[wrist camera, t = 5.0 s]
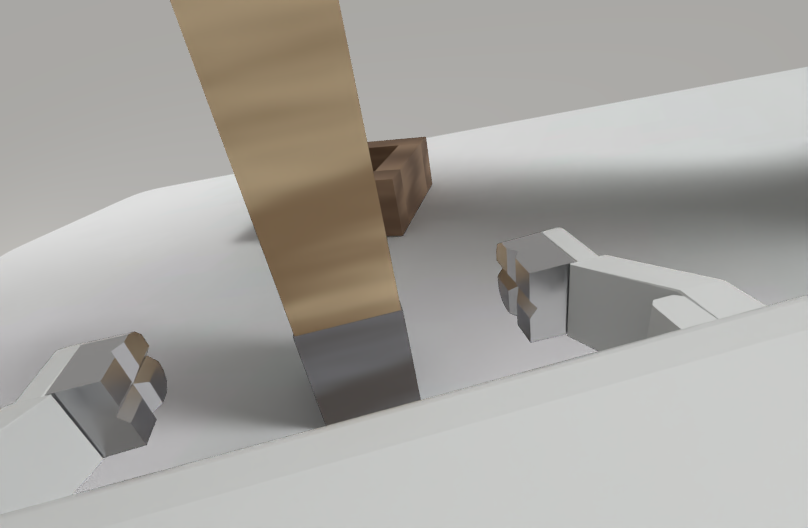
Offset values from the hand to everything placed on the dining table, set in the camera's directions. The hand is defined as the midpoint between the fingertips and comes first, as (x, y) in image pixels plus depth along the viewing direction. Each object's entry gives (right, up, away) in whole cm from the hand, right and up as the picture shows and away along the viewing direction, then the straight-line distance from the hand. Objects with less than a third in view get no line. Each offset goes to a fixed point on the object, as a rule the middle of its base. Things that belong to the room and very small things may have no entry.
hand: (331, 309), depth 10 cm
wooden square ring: (-2, +6, +29) cm, 29 cm away
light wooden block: (0, -4, +10) cm, 11 cm away
